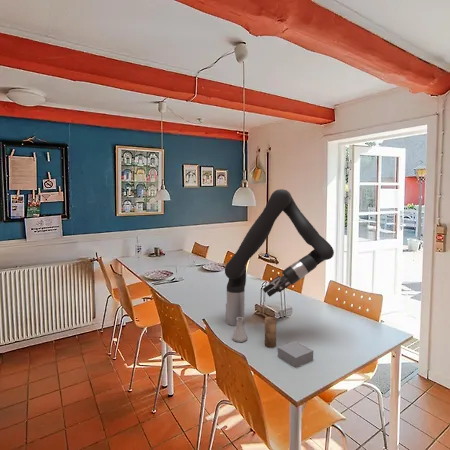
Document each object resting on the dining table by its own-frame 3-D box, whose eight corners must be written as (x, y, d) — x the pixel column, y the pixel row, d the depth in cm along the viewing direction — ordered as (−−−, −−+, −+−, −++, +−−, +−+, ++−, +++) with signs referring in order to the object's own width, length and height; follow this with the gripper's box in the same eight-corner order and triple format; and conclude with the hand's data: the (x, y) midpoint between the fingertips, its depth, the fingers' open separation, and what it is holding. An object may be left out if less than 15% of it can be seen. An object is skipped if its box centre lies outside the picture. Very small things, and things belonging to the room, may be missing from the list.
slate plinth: (277, 356, 129) (277, 347, 129) (294, 349, 135) (295, 340, 134) (295, 367, 121) (295, 357, 120) (313, 360, 126) (313, 350, 126)
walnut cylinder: (262, 344, 139) (262, 318, 138) (270, 341, 142) (271, 315, 141) (269, 348, 135) (270, 322, 134) (278, 345, 138) (278, 319, 137)
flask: (228, 340, 143) (228, 319, 142) (237, 334, 149) (237, 314, 148) (242, 344, 139) (242, 322, 138) (250, 338, 145) (250, 317, 144)
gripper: (285, 264, 149) (258, 283, 148) (295, 267, 135) (264, 288, 134) (294, 277, 150) (266, 296, 148) (304, 281, 135) (274, 303, 134)
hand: (265, 292), depth 141 cm, fingers open, 8 cm apart
